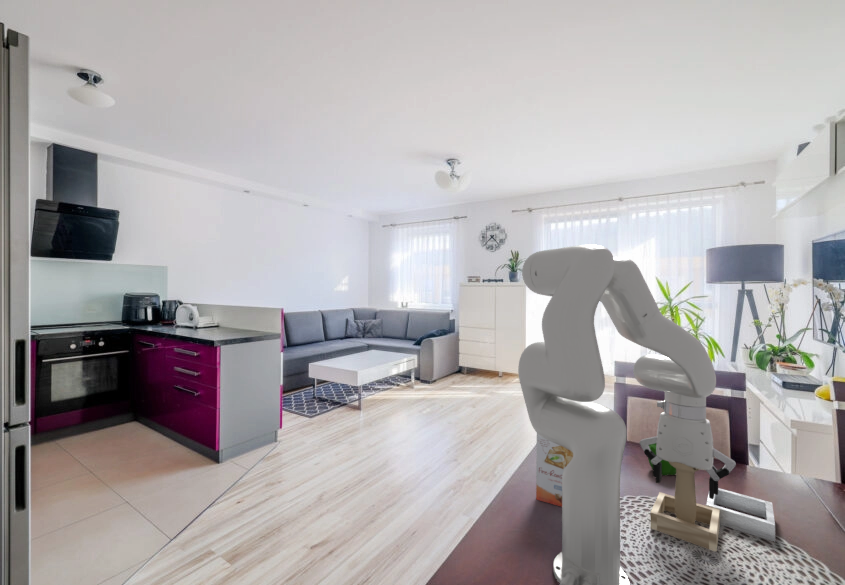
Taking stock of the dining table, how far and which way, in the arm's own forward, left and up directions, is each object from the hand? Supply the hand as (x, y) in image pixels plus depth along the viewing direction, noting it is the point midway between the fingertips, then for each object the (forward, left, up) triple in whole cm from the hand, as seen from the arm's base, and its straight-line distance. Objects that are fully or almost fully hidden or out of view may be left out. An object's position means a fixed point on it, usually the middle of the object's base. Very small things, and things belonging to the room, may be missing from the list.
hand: (684, 488), depth 82 cm
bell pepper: (+27, +8, -9) cm, 30 cm away
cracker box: (-8, +23, -9) cm, 26 cm away
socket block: (+12, -9, -9) cm, 18 cm away
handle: (0, 0, -9) cm, 9 cm away
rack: (0, 0, -9) cm, 9 cm away
